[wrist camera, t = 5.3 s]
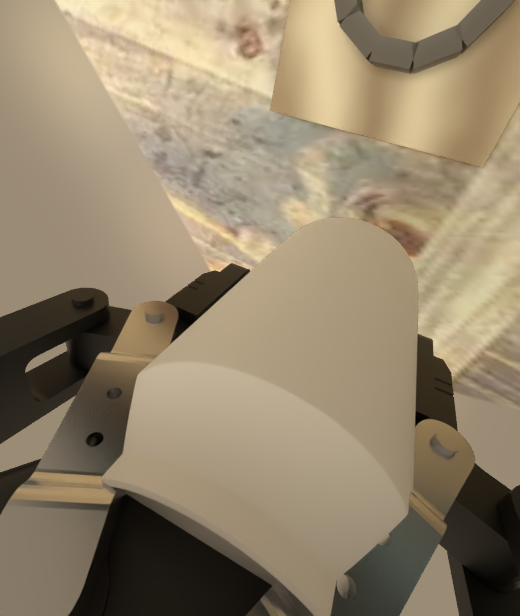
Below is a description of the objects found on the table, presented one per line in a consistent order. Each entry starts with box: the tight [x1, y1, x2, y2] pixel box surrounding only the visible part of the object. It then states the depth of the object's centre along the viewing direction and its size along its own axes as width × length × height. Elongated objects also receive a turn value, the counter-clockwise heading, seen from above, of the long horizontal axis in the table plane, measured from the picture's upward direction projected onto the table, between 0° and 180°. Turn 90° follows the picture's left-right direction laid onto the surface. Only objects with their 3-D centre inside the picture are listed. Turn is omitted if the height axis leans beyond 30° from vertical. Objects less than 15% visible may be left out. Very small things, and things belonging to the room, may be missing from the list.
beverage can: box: [101, 217, 418, 616], centre depth 10 cm, size 6×6×12 cm
